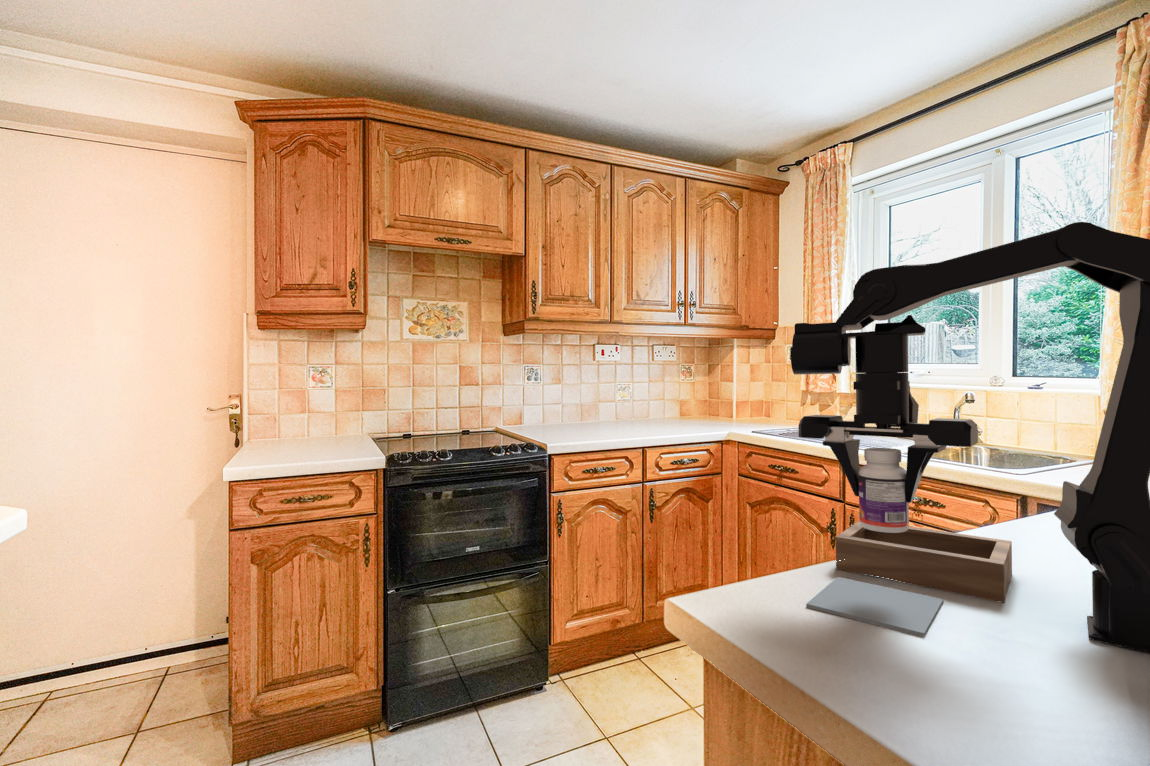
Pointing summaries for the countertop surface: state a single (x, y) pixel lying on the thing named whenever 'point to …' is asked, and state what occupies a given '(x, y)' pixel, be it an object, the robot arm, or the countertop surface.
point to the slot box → (929, 559)
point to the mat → (878, 605)
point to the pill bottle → (883, 492)
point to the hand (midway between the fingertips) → (883, 499)
